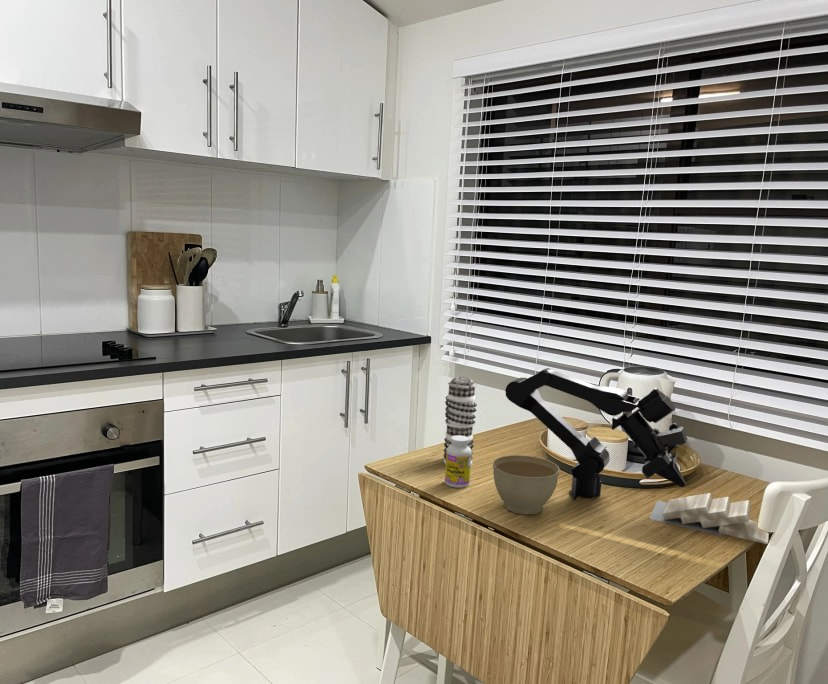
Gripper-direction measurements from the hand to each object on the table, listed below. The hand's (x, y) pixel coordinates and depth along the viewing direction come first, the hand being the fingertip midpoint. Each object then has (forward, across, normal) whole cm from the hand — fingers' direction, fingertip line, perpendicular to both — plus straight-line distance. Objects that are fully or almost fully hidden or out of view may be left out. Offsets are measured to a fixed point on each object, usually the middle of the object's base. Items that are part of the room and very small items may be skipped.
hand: (684, 486), depth 158 cm
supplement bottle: (-32, -11, +45) cm, 57 cm away
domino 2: (+5, 0, +4) cm, 7 cm away
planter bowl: (-18, -15, +31) cm, 39 cm away
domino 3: (+8, 0, +1) cm, 8 cm away
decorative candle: (-38, +5, +50) cm, 63 cm away
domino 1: (+2, 0, +7) cm, 8 cm away
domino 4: (+11, 0, -2) cm, 11 cm away
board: (+7, 0, +5) cm, 9 cm away
